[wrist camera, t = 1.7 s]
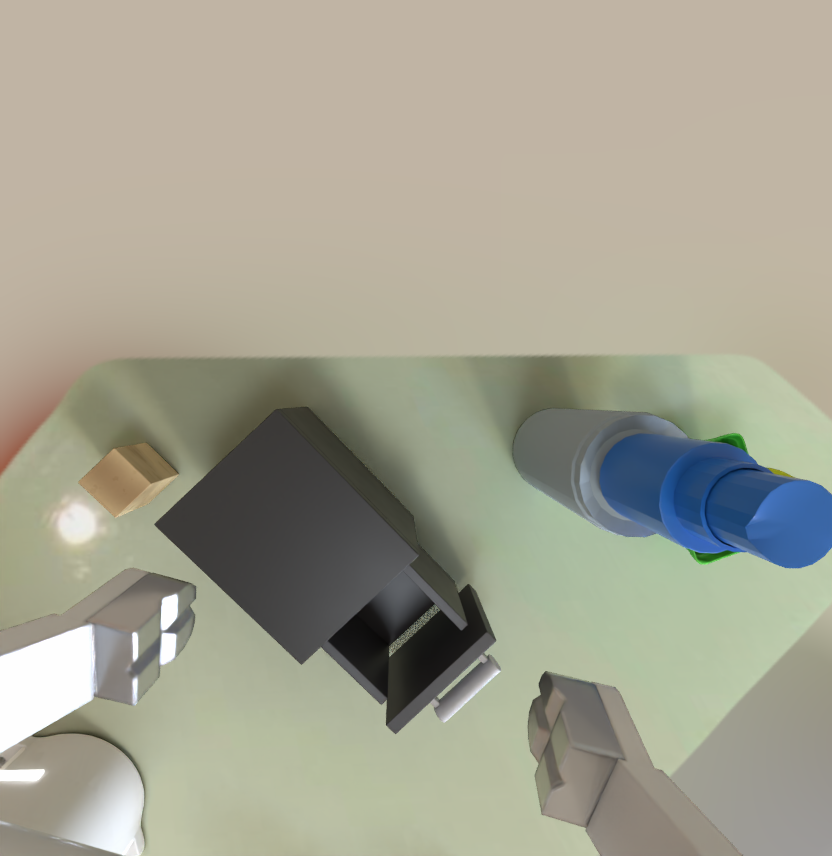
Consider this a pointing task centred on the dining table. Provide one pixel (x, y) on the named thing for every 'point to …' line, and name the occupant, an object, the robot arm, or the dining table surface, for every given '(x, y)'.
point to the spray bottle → (672, 485)
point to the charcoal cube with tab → (294, 530)
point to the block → (128, 478)
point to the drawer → (417, 644)
